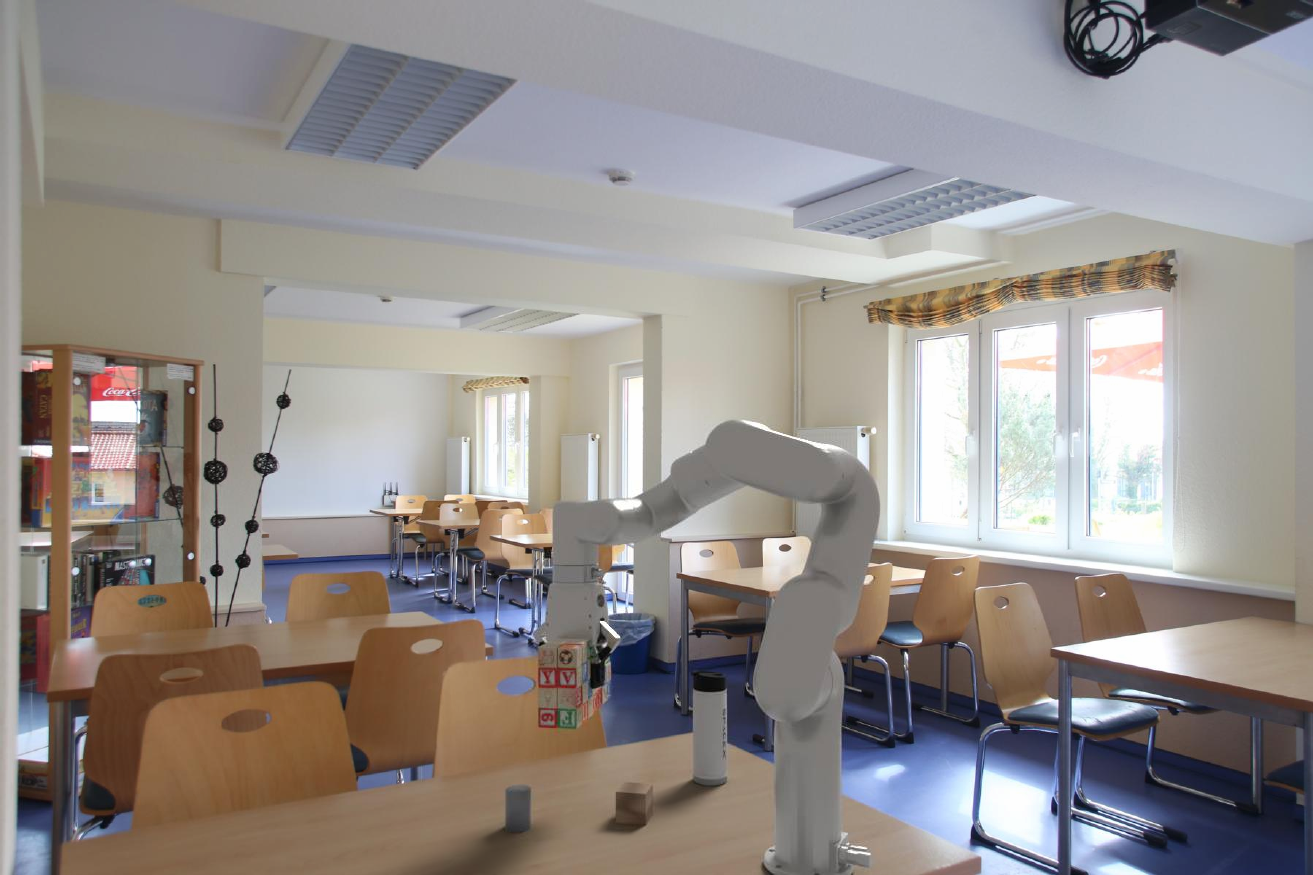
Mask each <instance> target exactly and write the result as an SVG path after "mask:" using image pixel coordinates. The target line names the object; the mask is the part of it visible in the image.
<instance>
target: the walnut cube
mask: <svg viewBox="0 0 1313 875" xmlns="http://www.w3.org/2000/svg"><path fill="white" fill-rule="evenodd" d="M653 815H654V784H653V783H646V782H645V783H644V782H643V783H642V782H630V781H623V782H622V783H621V784H620V786H619V787H618V788H617V789H616V790H615V824H623V825H624V824H625V825H634V826H635V825H637V826H638V825H639V826H647V825H648V823H649V822H650V820H651V818H652V816H653Z"/></svg>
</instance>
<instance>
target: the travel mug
mask: <svg viewBox="0 0 1313 875" xmlns="http://www.w3.org/2000/svg"><path fill="white" fill-rule="evenodd" d="M690 674H691V676H692V677H693V678H692V680H693V681H692V684H693V685H692V771H693V772H692V780H693V781H694V782H695V784H698V785H701V786H712V787H713V786H721V785H724V784H725V783H727V781H728V772H727V771H728V722H727V721H728V720H727V719H728V715H727V714H728V708H727V707H728V705H727V704H728V703H727V702H728V699H727V696H728V694H727V691H728V688H727V676H726V675H723V674H722V673H720V672H715V671H710V670H691V672H690Z"/></svg>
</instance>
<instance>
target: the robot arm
mask: <svg viewBox="0 0 1313 875" xmlns="http://www.w3.org/2000/svg"><path fill="white" fill-rule="evenodd" d="M746 486H747V487H749V488H753V489H757V490H759V491H762V492H764V493H768V494H771V495H773V496H778V497H780V498H783V499H786V500H789V501H792V502H796V503H801V504H807V505H813V504H816V505H817V504H820V507H821V510H820V517H819V519H818V521H817V524H816V527H815V530H814V531H813V532H814V533H813V535H812V538H811V541H810V546H809V551H808V554H807V558H806V562H805V564H804V567H803V569H802V572H801V574H798V575H796V576H793V577H792V578H790V579H789V580H787V582H785V583H784V584H783V585H782V586H781V587H780V589H779V590H778V591H777V594H776V595H775V598H774V600H773V602H772V605H771V607H770V611H769V615H768V618H767V622H766V625H765V630H764V632H763V636H762V640H761V643H760V648H759V651H758V656H757V659H756V662H755V666H754V671H753V679H752V687H753V688H752V690H753V695H754V698H755V700H756V703H757V704H758V706H759V708H760V709H761V710H762V712H763V713H764V714H766V716H768V717H769V718H771V719H772V720H774V729H773V767H774V768H773V774H774V776H773V779H774V780H773V782H774V783H773V785H774V786H773V788H774V790H773V793H774V845H773V846H771V847H769V848H767V849H766V850H765V852H764V855H763V864H764V867H765V868H766V869H767V870H768V871H769V872H770V873H771V874H772V875H852V874H853V873H854V869H855V866H857V867H860V868H864V869H872V866H873V861H874V859H873V854H872V853H870V852H869V848H868V847H867V846H861V845H857V846H856V845H853V844H852V843H851V842H849V833H848V832H844V831H843V803H842V802H843V799H842V798H843V797H842V796H843V794H842V793H843V792H842V791H843V790H842V787H843V785H842V724H843V723H842V722H843V720H842V717H843V707H844V694H845V675H844V674H845V673H844V669H843V664H842V662H841V660H840V658H839V657H838V654H837V653H836V652H835V650H834V647H835V644H836V640H837V638H838V636H839V635H841V634H842V633H844V632H845V631H846V630H848V629H849V628H850V627H851V626H852V625H853V622H854V621H855V619H856V617H857V613H858V609H859V604H860V601H861V600H860V598H861V594H862V591H863V589H864V585H865V584H864V583H865V580H866V576H867V572H868V569H869V565H870V560H871V555H872V551H873V548H874V544H875V540H876V537H877V533H878V528H879V523H880V517H881V516H880V515H881V499H880V494H879V489H878V487H877V483H876V481H875V479H874V477H873V475H872V474H871V472H870V471H869V469H868V468H867V467H866V465H864V464H863V462H862V461H861V460H860V459H859V458H857V456H855V455H854V454H852V453H851V452H849V451H847V450H846V449H844V448H842V447H839V446H836V445H833V444H827V443H819V442H813V441H809V440H806V439H801V438H798V437H795V436H791V435H787V434H783V433H780V432H777V431H774V430H771V429H770V428H769V427H768V426H766V425H764V424H762V423H759V422H754V421H751V420H744V419H737V418H735V419H729V420H726V421H723V422H722V423H719V424H718V425H716V426H715V427H714V428H713V429H712V430H711V432H709V434H708V436H707V438H706V441H705V444H703V445H701V446H699V447H698V448H696V449H694V450H691V451H690V452H688V453H687V454H684V455H682V456H680V457H678V458H677V459H675V460H674V461H673V463H672V464H671V466H670V473H669V475H668V477H666V478H665V480H663V481H662V482H660V483H659V484H657V485H655V486H653V487H651V488H650V489H647V490H646V491H644V492H642V493H640V494H638V495H636V496H633V497H623V498H622V497H621V498H620V497H617V498H601V499H595V500H587V499H584V500H583V499H574V500H573V499H570V500H569V499H568V500H565V499H564V500H559V501H556V503H554V505H553V507H552V514H551V515H552V517H551V518H552V519H551V520H552V526H551V527H552V582H551V583H550V584H549V586H548V590H547V591H548V592H547V596H546V604H545V615H544V617H545V618H544V622H543V623H542V624H541V625H540V626H538V627H537V628H536V629H535V630H534V631H533V632H532V637H533V638H534V640H535V642H536V643H537V644H538V647H540V646H542V645H543V644H546V643H548V642H549V641H552V640H553V639H554V638H556V637H558V638H571V639H582V640H589V646H590V655H591V657H592V659H593V663H591V677H590V687H591V688H592V689H596V688H599V687H601V686H603V685H604V681H605V661H607V660H608V657H609V656H612V654H613V653H614V651H615V650H616V648H617V647H618V645H619V644H620V643H621V641H622V638H621V636H620V635H619V634H617V632H616V631H615V630H614V629H612V627H610V620H609V619H610V618H609V617H610V616H609V610H608V601H607V594H606V590H605V587H604V583H600V582H599V581H600V578H604V577H605V575H606V572H605V569H603V568H602V569H601V568H600V564H599V546H602V547H614V546H620V545H629V544H637V543H642V542H644V541H646V540H649V539H651V538H654V537H655V536H657V535H659V534H662V533H664V532H665V531H667V530H669V529H672V528H673V527H676V526H677V525H679V524H681V523H682V522H684V521H685V520H687V519H688V518H690V517H691V516H693V515H695V514H696V513H697V512H699V511H700V510H701V509H703V508H705V507H707V506H709V505H711V504H712V503H715V502H716V501H718V500H720V499H723V498H724V497H727V496H729V495H731V494H733V493H734V492H737V491H738V490H741V489H742V488H743V489H744V488H745V487H746ZM603 644H607V645H606V647H604V646H603Z"/></svg>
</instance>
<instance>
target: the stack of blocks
mask: <svg viewBox="0 0 1313 875" xmlns="http://www.w3.org/2000/svg"><path fill="white" fill-rule="evenodd" d="M606 645H607V643H603V646H604V647H606ZM610 656H611V655H610ZM610 656H609V657H608V660H607V661H605V681H604V685H603V686H601V687H599V688H596V689H592V688H591V687H590V677H591V663H593V659H592V657H591V655H590V646H589V640H582V639H571V638H558V637H556V638H554V639H553V640H552V641H549V642H548V643H546V644H543V645H542V646H540V647H539V646H538V648H537V658H538V659H537V663H538V664H537V666H538V667H537V687H538V707H537V708H538V709H537V710H538V711H537V713H538V715H537V716H538V719H537V720H538V722H537V723H538V724H537V725H538V728H541V729H564V730H565V729H569V730H570V729H571V730H577V729H578V728H579V727H581V725H583V724H584V723H585V722H587V720H589V718H591V717H592V716H593V715H594V714H595V712H596V711H597V710H598V709H599V708H600V707H601V706H602V705H604V704H605V703H606V702H608V700H610V698H611V697H612V669H611V667H612V666H611V664H612V663H611V657H610Z"/></svg>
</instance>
